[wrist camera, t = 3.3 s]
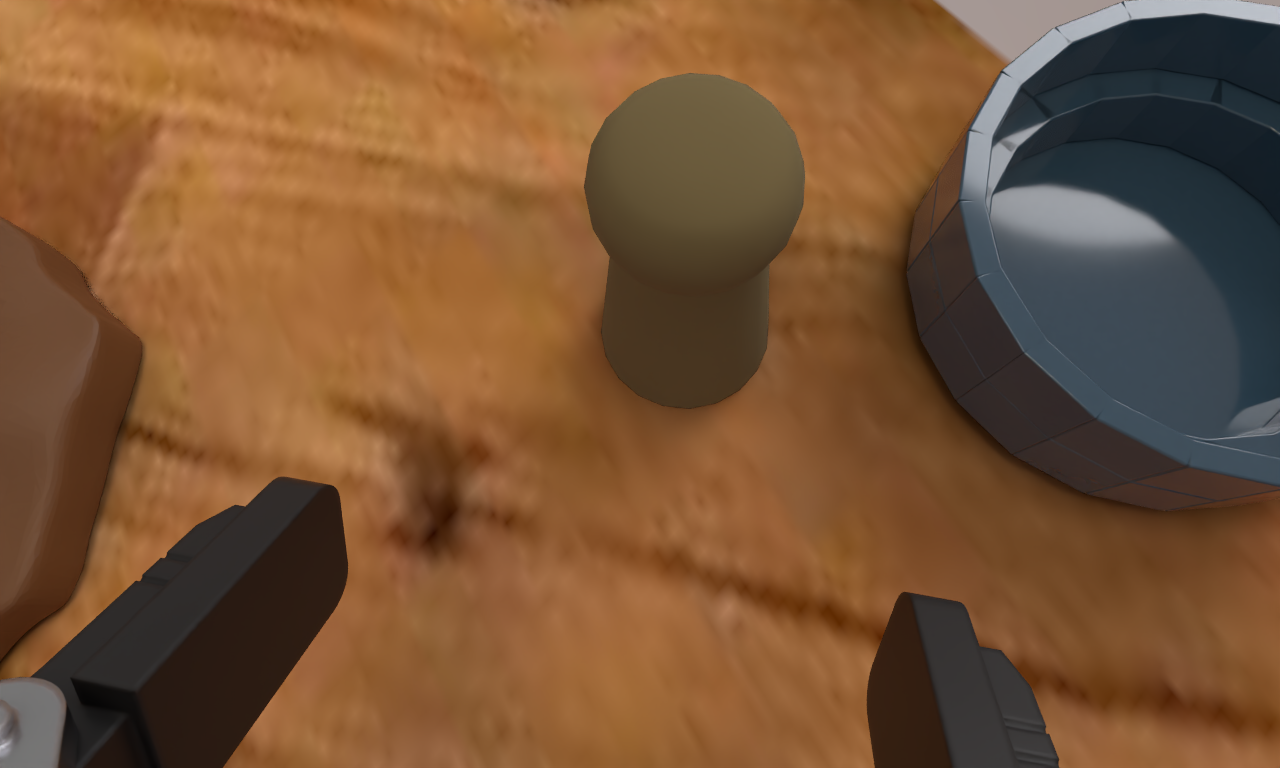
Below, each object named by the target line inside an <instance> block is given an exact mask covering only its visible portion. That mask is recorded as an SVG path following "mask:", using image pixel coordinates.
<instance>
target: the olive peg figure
mask: <svg viewBox="0 0 1280 768" xmlns="http://www.w3.org/2000/svg"><path fill="white" fill-rule="evenodd" d="M804 183H805V170H804V161H803V158H802V155H801V151H800V148H799V145H798V142H797V138H796V135H795V133H794V131H793V130H792V129H791V127H790V126H789V125H788V123H787V122H786V120H785V119H784V118H783V116H782V115H781V114H780V112H779V111H778V110H777V108H776V107H775V106H774V105H773V104H772V103H771V102H770V101H769V100H767V99H766V98H765V97H763V96H762V95H760V94H759V93H758V92H756V91H755V90H753V89H752V88H751V87H749V86H748V85H746V84H743V83H740V82H737V81H734V80H731V79H728V78H726V77H723V76H720V75H708V74H694V73H688V74H683V75H678V76H673V77H667V78H662V79H659V80H657V81H655V82H653V83H651V84H649V85H647V86H645V87H643V88H641V89H639V90H637V91H635V92H634V93H633V94H632V95H631V96H629V97H628V98H627V99H626V100H625V101H624V102H623V103H622V104H621V105H620V106H619V107H618V108H617V109H616V110H614V111H613V112H612V113H611V114H610V115H609V116H608V117H607V118H606V119H605V121H604V123H603V125H602V127H601V128H600V130H599V132H598V134H597V136H596V138H595V139H594V141H593V143H592V145H591V150H590V154H589V159H588V165H587V171H586V178H585V184H584V189H585V194H586V199H587V204H588V209H589V214H590V218H591V223H592V227H593V230H594V232H595V233H596V235H597V237H598V238H599V240H600V241H601V243H602V245H603V246H604V248H605V250H606V251H607V253H608V255H609V256H610V260H609V269H608V277H607V286H606V295H605V303H604V312H603V321H602V329H601V333H602V339H603V344H604V349H605V354H606V357H607V359H608V360H609V362H610V364H611V366H612V367H613V369H614V371H615V373H616V374H617V376H618V378H619V379H620V380H622V381H623V382H624V383H625V384H626V385H627V386H628V387H630V388H631V389H632V390H633V391H634V392H635V393H636V394H638V395H639V396H641V397H644V398H646V399H648V400H651V401H653V402H655V403H658V404H660V405H662V406H670V407H680V408H695V407H699V406H704V405H709V404H714V403H717V402H719V401H721V400H723V399H724V398H726V397H728V396H730V395H731V394H733V393H735V392H737V391H739V390H740V389H741V388H742V387H743V385H744V384H745V383H746V382H747V381H748V380H749V379H750V378H751V377H752V376H753V375H754V373H755V372H756V371H757V369H758V367H759V365H760V362H761V360H762V358H763V355H764V353H765V351H766V348H767V336H768V314H769V263H770V262H771V261H772V260H773V259H774V258H775V257H776V256H777V255H778V254H779V253H780V252H781V251H782V250H783V249H784V248H785V246H786V245H787V242H788V240H789V238H790V236H791V233H792V231H793V229H794V227H795V224H796V222H797V220H798V218H799V215H800V212H801V210H802V207H803V200H804Z"/></svg>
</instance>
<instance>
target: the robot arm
mask: <svg viewBox="0 0 1280 768" xmlns="http://www.w3.org/2000/svg"><path fill="white" fill-rule="evenodd" d="M347 575H348V560H347V552H346V544H345V535H344V527H343V519H342V511H341V503H340V496H339V493H338V491H337V489H336V488H335V487H334V486H332V485H328V484H322V483H317V482H311V481H306V480H300V479H295V478H289V477H278V478H276V479H274V480H273V481H272V482H271V483H269V484H268V485H267V486H266V487H265V488H264V489H263V490H262V491H261V492H260V493H259V494H258V495H257V496H256V497H255V498H254V499H253V500H252V501H251V502H250V503H249V504H248V505H247V506H246V507H244V506H239V505H234V506H232V507H230V508H228V509H226V510H224V511H222V512H221V513H219V514H217V515H215V516H213V517H211V518H209V519H207V520H205V521H204V522H202V523H200V524H198V525H196V526H195V527H194V528H193V529H192V530H191V531H190V532H189V533H187V534H186V535H185V536H184V537H183V538H182V539H181V540H180V541H179V542H178V543H177V544H175V545H174V546H173V547H172V548H171V549H170V550H169V551H168V552H167V556H166V557H165V558H160V559H159V560H158V561H157V562H156V563H155V564H154V565H153V566H152V567H150V568H149V569H148V570H147V571H146V572H145V573H144V574H143V575H142V579H141V581H140V582H139V581H135V582H134V583H133V584H132V585H131V586H130V587H129V588H128V589H127V590H125V591H124V592H123V593H122V594H121V595H120V596H119V597H118V598H117V599H116V600H115V601H113V602H112V603H111V604H110V605H109V606H108V607H107V608H106V609H105V610H104V611H103V612H102V613H100V614H99V615H98V616H97V617H96V618H95V619H94V620H93V621H92V622H91V623H90V624H88V625H87V626H86V627H85V628H84V629H83V630H82V631H81V632H80V633H79V634H78V635H77V636H75V637H74V638H73V639H72V640H71V641H70V642H69V643H68V644H67V645H66V646H65V647H63V648H62V649H61V650H60V651H59V652H58V653H57V654H56V655H55V656H54V657H53V658H51V659H50V660H49V661H48V662H47V663H46V664H45V665H44V666H43V667H42V668H41V669H39V670H38V671H37V672H36V673H35V674H33V675H32V676H31V677H19V678H9V679H4V680H0V768H223V766H224V765H225V764H226V762H227V761H228V759H229V758H230V757H231V755H232V754H233V752H234V751H235V749H236V748H237V747H238V745H239V744H240V742H241V741H242V740H243V738H244V737H245V735H246V734H247V733H248V731H249V730H250V728H251V727H252V725H253V724H254V723H255V721H256V720H257V718H258V717H259V716H260V714H261V713H262V711H263V710H264V709H265V707H266V706H267V704H268V703H269V702H270V700H271V699H272V697H273V696H274V694H275V693H276V692H277V690H278V689H279V687H280V686H281V685H282V683H283V682H284V680H285V679H286V678H287V676H288V675H289V673H290V672H291V670H292V669H293V668H294V666H295V665H296V663H297V662H298V661H299V659H300V658H301V656H302V655H303V654H304V652H305V651H306V649H307V648H308V646H309V645H310V644H311V642H312V641H313V639H314V638H315V637H316V635H317V634H318V632H319V631H320V630H321V628H322V627H323V625H324V624H325V623H326V621H327V620H328V618H329V617H330V615H331V614H332V613H333V611H334V610H335V608H336V607H337V605H338V603H339V601H340V599H341V597H342V594H343V591H344V588H345V585H346V581H347ZM867 715H868V723H869V730H870V737H871V744H872V751H873V758H874V765H875V768H1059V765H1058V761H1059V758H1058V756H1057V753H1056V751H1055V748H1054V745H1053V743H1052V740H1051V738H1050V735H1049V734H1046V731H1045V728H1046V725H1045V722H1044V720H1043V717H1042V715H1041V712H1040V709H1039V707H1038V704H1037V702H1036V699H1035V697H1034V694H1033V691H1032V689H1031V687H1030V685H1029V684H1028V683H1027V682H1026V680H1025V679H1024V678H1023V677H1022V675H1021V674H1020V673H1019V672H1018V671H1017V669H1016V668H1015V667H1014V666H1013V664H1012V663H1011V662H1010V661H1009V659H1008V658H1007V657H1006V656H1005V654H1004V653H1003V652H1002V651H1001V650H996V649H991V648H985V647H980V646H979V644H978V641H977V638H976V635H975V632H974V629H973V626H972V623H971V620H970V617H969V614H968V611H967V609H966V607H965V606H964V605H963V604H962V603H961V602H958V601H952V600H947V599H941V598H936V597H930V596H925V595H919V594H914V593H908V592H903V593H901V594H900V595H899V597H898V599H897V601H896V603H895V606H894V608H893V611H892V614H891V616H890V619H889V622H888V625H887V627H886V630H885V633H884V635H883V638H882V641H881V643H880V646H879V649H878V651H877V654H876V657H875V659H874V662H873V665H872V668H871V671H870V676H869V681H868V690H867Z"/></svg>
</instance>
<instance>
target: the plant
mask: <svg viewBox="0 0 1280 768" xmlns="http://www.w3.org/2000/svg"><path fill="white" fill-rule="evenodd" d="M141 356H142V345H141V341H140V339H139V338H138V337H137V336H136V335H135V334H133V333H132V332H131V331H130V330H129V329H128V328H126V327H125V326H124V325H123V324H122V323H121V322H120V321H119V320H118V319H116V318H115V317H114V316H112V315H111V314H110V313H109V312H108V311H107V310H106V309H105V308H104V307H103V306H102V305H101V304H100V303H99V302H98V301H97V300H96V299H95V298H94V297H93V295H92V294H91V293H90V291H89V290H88V288H87V286H86V284H85V282H84V279H83V277H82V275H81V273H80V272H79V270H78V269H77V267H76V266H75V265H74V264H73V263H72V262H71V261H69V260H68V259H67V258H66V257H64V256H63V255H62V254H60V253H59V252H58V251H56V250H55V249H54V248H52V247H51V246H49V245H48V244H46V243H45V242H43V241H42V240H40V239H38V238H37V237H35V236H33V235H31V234H30V233H28V232H26V231H25V230H23V229H21V228H19V227H18V226H16V225H14V224H13V223H11V222H9V221H7V220H6V219H4V218H2V217H0V662H1V660H2V658H3V657H4V656H5V655H6V653H7V652H8V651H9V650H10V649H11V647H12V646H13V645H14V644H15V643H16V642H17V641H18V640H19V639H20V638H21V637H22V636H23V635H24V634H25V633H26V632H27V631H28V630H29V629H31V628H32V627H33V626H34V625H35V624H37V623H38V622H39V621H41V620H42V619H44V618H45V617H47V616H48V615H50V614H52V613H53V612H55V611H56V610H58V609H59V608H61V607H62V606H63V605H64V604H65V603H66V602H67V600H68V599H69V598H70V596H71V594H72V592H73V589H74V587H75V585H76V583H77V581H78V579H79V577H80V574H81V571H82V568H83V565H84V560H85V555H86V551H87V547H88V542H89V536H90V533H91V530H92V527H93V523H94V520H95V517H96V514H97V510H98V506H99V502H100V498H101V495H102V491H103V487H104V484H105V480H106V476H107V472H108V467H109V463H110V459H111V456H112V452H113V448H114V444H115V440H116V436H117V433H118V430H119V427H120V425H121V422H122V419H123V417H124V414H125V412H126V409H127V405H128V402H129V399H130V396H131V393H132V388H133V385H134V382H135V379H136V376H137V372H138V368H139V365H140V360H141Z"/></svg>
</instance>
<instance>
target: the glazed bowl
mask: <svg viewBox="0 0 1280 768" xmlns="http://www.w3.org/2000/svg"><path fill="white" fill-rule="evenodd" d="M907 279H908V284H909V289H910V294H911V298H912V303H913V308H914V313H915V318H916V323H917V327H918V332H919V336H920V339H921V341H922V343H923V345H924V346H925V348H926V350H927V352H928V353H929V355H930V357H931V359H932V360H933V362H934V364H935V366H936V367H937V369H938V371H939V373H940V374H941V376H942V378H943V380H944V381H945V383H946V385H947V387H948V388H949V390H950V392H951V394H952V395H953V397H954V399H955V400H956V401H957V403H958V404H960V405H961V406H962V407H963V408H964V409H965V410H966V411H967V412H968V413H969V414H970V415H971V416H972V417H973V418H974V419H975V420H976V421H977V422H978V423H979V424H980V425H981V426H982V427H983V428H985V429H986V430H987V431H988V432H989V433H990V434H991V435H992V436H993V437H994V438H995V439H996V440H997V441H998V442H999V443H1000V444H1001V445H1002V446H1003V447H1004V448H1005V449H1006V450H1007V451H1008V452H1010V453H1011V454H1013V455H1014V456H1015V457H1017V458H1019V459H1021V460H1023V461H1025V462H1026V463H1028V464H1030V465H1032V466H1034V467H1036V468H1038V469H1039V470H1041V471H1043V472H1045V473H1047V474H1049V475H1051V476H1052V477H1054V478H1056V479H1058V480H1060V481H1062V482H1064V483H1065V484H1067V485H1069V486H1071V487H1073V488H1075V489H1077V490H1078V491H1080V492H1082V493H1086V494H1088V495H1093V496H1097V497H1102V498H1106V499H1111V500H1115V501H1120V502H1125V503H1129V504H1134V505H1138V506H1143V507H1147V508H1152V509H1156V510H1161V511H1164V510H1165V511H1179V510H1191V509H1203V508H1215V507H1226V506H1238V505H1245V504H1251V503H1257V502H1263V501H1269V500H1275V499H1280V6H1274V5H1267V4H1260V3H1254V2H1246V1H1240V0H1131V1H1123V2H1121V3H1117V4H1115V5H1112V6H1109V7H1107V8H1104V9H1102V10H1099V11H1097V12H1094V13H1091V14H1088V15H1086V16H1083V17H1081V18H1078V19H1075V20H1073V21H1070V22H1068V23H1065V24H1062V25H1060V26H1057V27H1055V28H1052V29H1051V30H1050V31H1049V32H1047V33H1046V34H1045V35H1044V36H1043V37H1041V38H1040V39H1039V40H1038V41H1037V42H1035V43H1034V44H1033V45H1032V46H1031V47H1029V48H1028V49H1027V50H1026V51H1025V52H1023V53H1022V54H1021V55H1020V56H1018V57H1017V58H1016V59H1015V60H1014V61H1012V62H1011V63H1010V64H1009V65H1007V66H1006V67H1005V68H1004V69H1003V70H1001V72H1000V73H999V75H998V76H997V78H996V79H995V81H994V82H993V84H992V86H991V87H990V89H989V90H988V92H987V93H986V95H985V97H984V98H983V100H982V101H981V103H980V105H979V106H978V108H977V109H976V111H975V113H974V114H973V116H972V117H971V119H970V121H969V122H968V124H967V125H966V127H965V128H964V130H963V132H962V133H961V135H960V136H959V138H958V140H957V141H956V143H955V144H954V146H953V148H952V149H951V151H950V152H949V154H948V155H947V157H946V159H945V160H944V162H943V164H942V165H941V167H940V169H939V171H938V172H937V174H936V176H935V178H934V179H933V181H932V183H931V185H930V187H929V188H928V190H927V192H926V194H925V195H924V197H923V199H922V201H921V202H920V204H919V206H918V208H917V209H916V213H915V217H914V223H913V230H912V237H911V244H910V251H909V257H908V264H907Z"/></svg>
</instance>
